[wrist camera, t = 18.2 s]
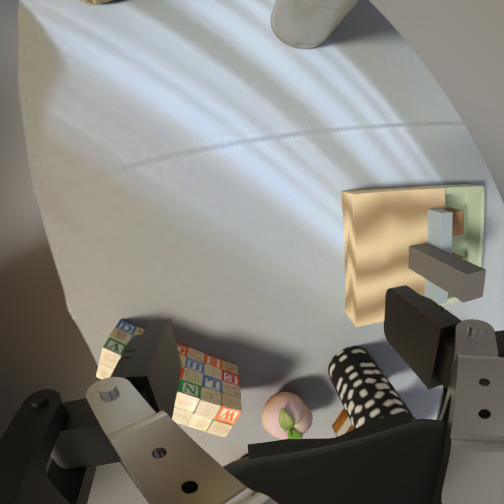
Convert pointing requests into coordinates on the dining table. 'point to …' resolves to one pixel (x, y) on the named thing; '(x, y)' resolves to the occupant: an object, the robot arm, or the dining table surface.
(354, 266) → the board
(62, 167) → the dining table surface
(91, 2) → the ceramic vessel
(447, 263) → the scraper
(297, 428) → the decorative fruit
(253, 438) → the dining table surface
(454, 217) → the brown wood cube
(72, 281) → the dining table surface
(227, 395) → the stack of blocks
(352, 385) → the spotted tube
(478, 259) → the tray
